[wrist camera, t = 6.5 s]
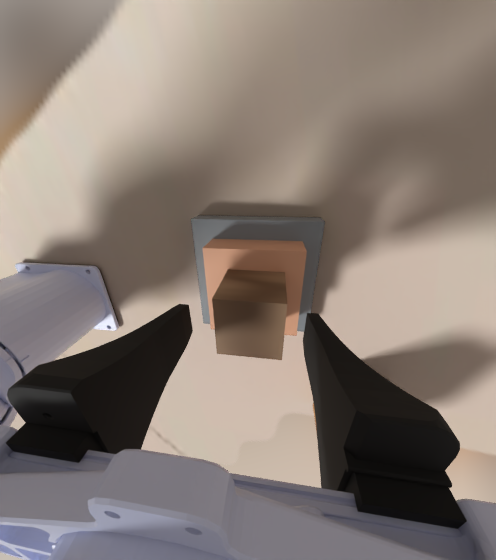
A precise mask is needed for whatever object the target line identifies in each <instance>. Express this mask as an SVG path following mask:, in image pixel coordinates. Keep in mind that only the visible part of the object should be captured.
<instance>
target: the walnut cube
mask: <svg viewBox="0 0 496 560" xmlns="http://www.w3.org/2000/svg"><path fill="white" fill-rule="evenodd" d="M212 304H213V315H214V326H215V337H216V348H217V354H226V355H236V356H246V357H257V358H267V359H277V360H282V352H283V342H284V332H285V322H286V312H287V293H286V279H285V272H271V271H251V270H232V269H228V270H227V272H226V274H225V276H224V277H223V279H222V281H221V283H220V285H219V287H218V289H217V291H216V292H215V294H214V296H213V298H212Z"/></svg>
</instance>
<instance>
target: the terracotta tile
mask: <svg viewBox="0 0 496 560" xmlns="http://www.w3.org/2000/svg"><path fill="white" fill-rule="evenodd" d="M202 249H203V258H204V268H205V277H206V287H207V296H208V306H209V315H210V325H211V329H215V326H214V315H213V304H212V298H213V296H214V294H215V292H216V291H217V289H218V287H219V285H220V283H221V281H222V279H223V277H224V276H225V274H226V272H227V270H228V269H232V270H251V271H271V272H285V279H286V293H287V312H286V322H285V332H284V335H293V336H296V335H297V327H298V319H299V311H300V303H301V295H302V286H303V278H304V270H305V262H306V254H307V251H306V248H305V246H304V243H303V241H279V240H243V239H212V240H211V241H209V242H208V243H207V244H206V245H205V246H204V247H203V248H202Z"/></svg>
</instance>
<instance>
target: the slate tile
mask: <svg viewBox="0 0 496 560" xmlns="http://www.w3.org/2000/svg"><path fill="white" fill-rule="evenodd" d="M191 224H192V232H193V240H194V248H195V257H196V265H197V273H198V281H199V290H200V298H201V306H202V315H203V323H206V324H210V315H209V306H208V296H207V287H206V277H205V268H204V258H203V249H202V248H203V247H204V246H205V245H206V244H207V243H208V242H209V241H211V240H212V239H243V240H279V241H303V243H304V246H305V248H306V251H307V254H306V262H305V270H304V278H303V286H302V295H301V303H300V311H299V319H298V327H297V331H304V330H305V323H306V316H307V313H311V308H312V301H313V295H314V289H315V282H316V276H317V269H318V263H319V256H320V250H321V244H322V237H323V231H324V224H325V221H324V220H323V219H322V218H320V217H266V216H209V215H198V216H196V217H194V218H192V219H191Z"/></svg>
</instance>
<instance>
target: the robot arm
mask: <svg viewBox="0 0 496 560" xmlns="http://www.w3.org/2000/svg"><path fill="white" fill-rule="evenodd" d="M15 267H16V269H17V271H18V273H17V274H14V275H12V276H9V277H6V278H3V279H1V280H0V552H1V553H4V554H8V555H11V556H15V557H17V558H21V559H24V560H496V503H491V502H485V501H478V500H472V499H461V500H457V501H456V500H455V499H454V497H453V495H452V493H451V491H450V490H449V488H450V487H452V483H451V481H450V479H449V477H448V476H447V474H446V472H445V470H446V468H447V467H448V466H449V465H450V464H451V462H452V461H453V460H454V459H455V458H456V456H457V454H458V452H459V450H460V443H459V441H458V439H457V438H456V436H455V435H454V433H453V432H452V430H451V429H450V427H449V426H448V424H447V423H446V421H445V420H444V419H443V417H442V416H441V414H440V413H439V412H438V411H437V410H436V409H434V408H433V407H431V406H429V405H427V404H426V403H424V402H422V401H420V400H419V399H417V398H415V397H413V396H412V395H410V394H408V393H407V392H405V391H403V390H402V389H400V388H399V387H397V386H396V385H394V384H393V383H391V382H390V381H388V380H387V379H385V378H384V377H382V376H381V375H380V374H378V373H377V372H376V371H374V370H373V369H372V368H370V367H369V366H368V365H367V364H365V363H364V362H363V361H362V360H361V359H359V358H358V357H357V356H356V355H355V354H354V353H353V352H352V351H350V350H349V349H348V348H347V347H346V346H345V345H344V344H343V343H342V342H341V341H340V339H339V338H338V337H337V336H336V335H335V334H334V333H333V332H332V330H331V329H330V328H329V327H328V326H327V324H326V323H325V322H324V321H323V319H322V318H321V317H320V316H319V314H316V313H307V316H306V323H305V330H304V337H303V346H304V356H305V361H306V366H307V371H308V376H309V380H310V385H311V390H312V395H313V401H314V410H315V419H316V429H317V439H318V450H319V460H320V473H321V486H322V488H316V487H311V486H304V485H298V484H293V483H286V482H280V481H274V480H268V479H262V478H256V477H250V476H244V475H238V474H232V473H229V472H228V470H226V469H224V468H223V467H221V466H220V465H218V464H216V463H213V462H210V461H206V460H203V459H197V458H190V457H184V456H178V455H171V454H165V453H159V452H153V451H146V450H141V447H142V444H143V441H144V438H145V436H146V433H147V430H148V428H149V425H150V422H151V419H152V417H153V414H154V412H155V409H156V407H157V404H158V402H159V399H160V397H161V395H162V392H163V390H164V388H165V385H166V383H167V381H168V379H169V377H170V375H171V374H172V372H173V370H174V368H175V366H176V365H177V363H178V361H179V359H180V357H181V356H182V354H183V352H184V350H185V348H186V346H187V344H188V342H189V339H190V337H191V334H192V331H193V330H192V324H191V317H190V311H189V305H185V304H179V305H177V306H175V307H173V308H172V309H170V310H168V311H167V312H165V313H164V314H162V315H160V316H159V317H157V318H155V319H154V320H152V321H150V322H149V323H147V324H145V325H143V326H142V327H140V328H138V329H136V330H135V331H133V332H131V333H129V334H127V335H125V336H122V337H120V338H118V339H116V340H114V341H111V342H109V343H106V344H104V345H101V346H99V347H96V348H94V349H91V350H88V351H85V352H82V353H79V354H76V355H73V356H69V357H66V358H62V359H59V360H55V359H56V358H57V357H59V356H60V355H61V354H62V353H63V352H65V351H66V350H67V349H68V348H70V347H71V346H72V345H73V344H74V343H76V342H77V341H78V340H79V339H81V338H82V337H83V336H84V335H86V334H87V333H88V332H89V331H90V330H92V329H102V330H113V331H116V330H117V329H118V328H119V325H118V322H117V319H116V316H115V313H114V310H113V307H112V305H111V302H110V299H109V296H108V293H107V290H106V287H105V284H104V282H103V279H102V276H101V273H100V270H99V269H98V268H97V267H96V266H84V265H64V264H43V263H22V262H21V263H17V264H16V265H15ZM89 270H90V271H89ZM54 360H55V361H54ZM17 412H18V414H19V415H20V416H21V417H22V419H23V420H24V421H25V422H26V423H25V424H24V425H23V426H22V427H21V428H20V429H19V430H17V429H15V428H13V427H10V425H11V423H12V422H13V420H14V419H15V416H16V414H17Z"/></svg>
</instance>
